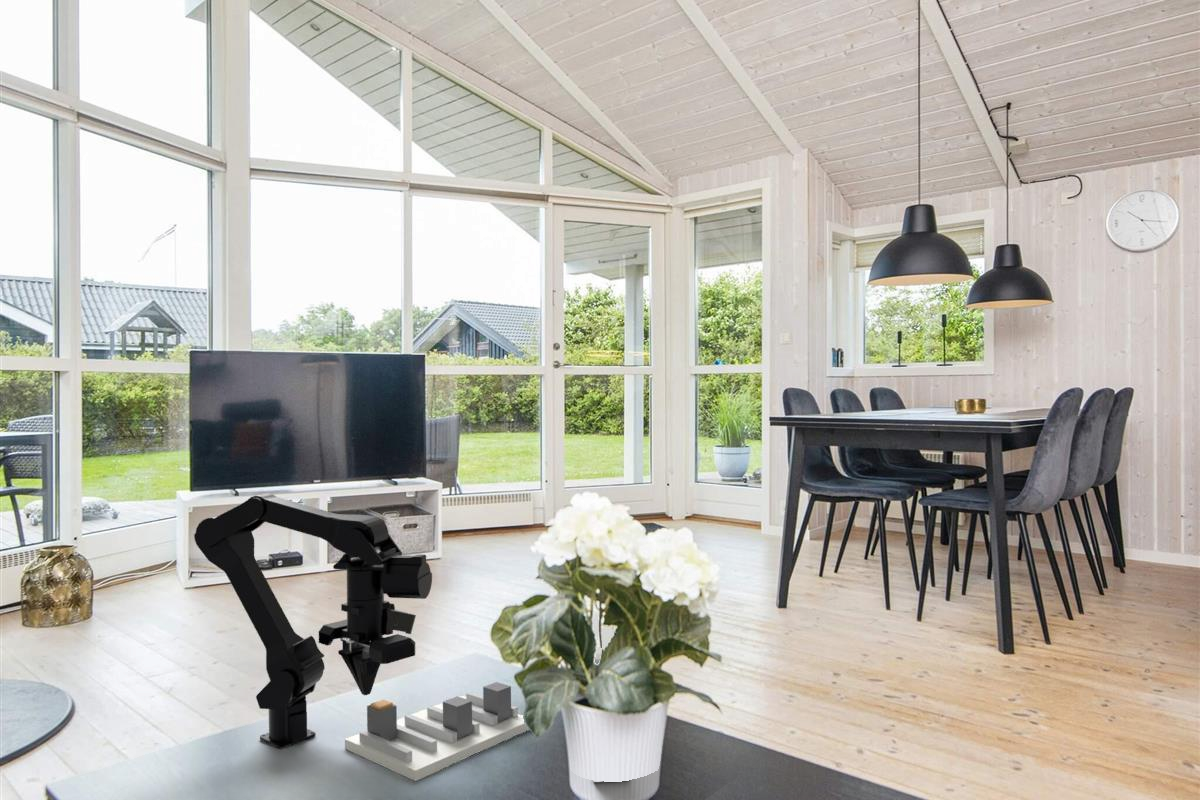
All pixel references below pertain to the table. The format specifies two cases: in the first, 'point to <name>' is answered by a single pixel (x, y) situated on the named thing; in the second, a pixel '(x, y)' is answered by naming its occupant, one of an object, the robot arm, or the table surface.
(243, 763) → the table surface
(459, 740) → the breaker board
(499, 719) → the block
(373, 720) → the block
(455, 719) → the block
